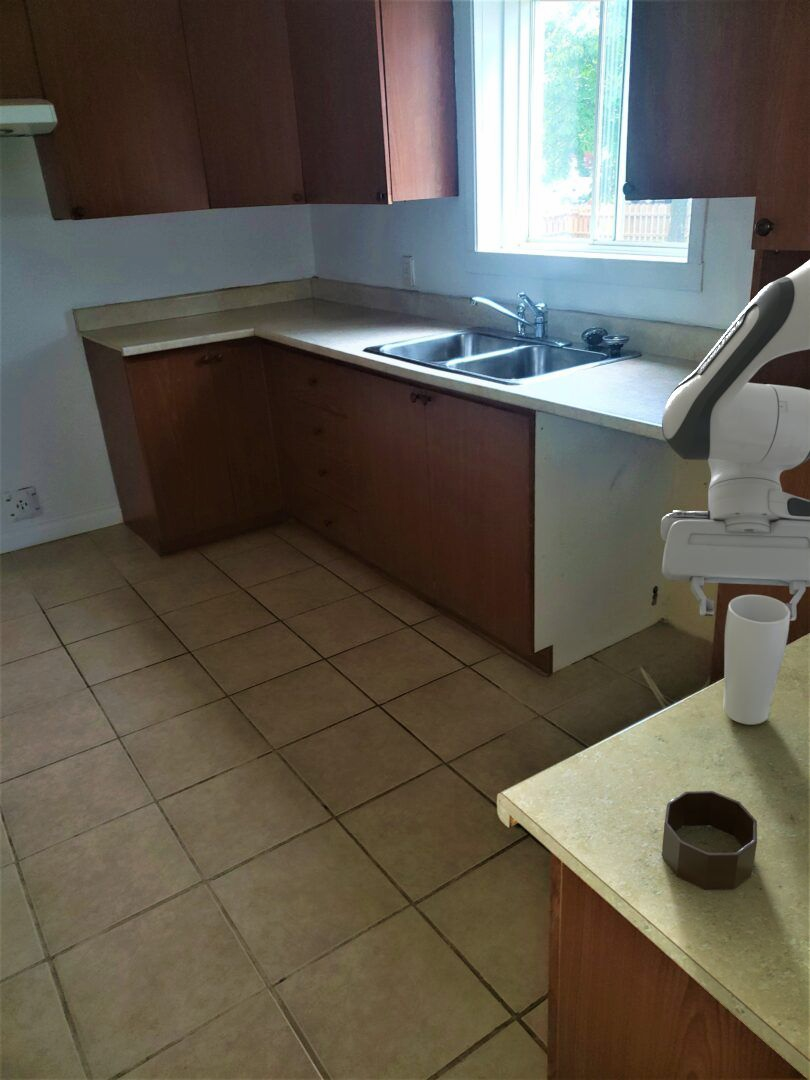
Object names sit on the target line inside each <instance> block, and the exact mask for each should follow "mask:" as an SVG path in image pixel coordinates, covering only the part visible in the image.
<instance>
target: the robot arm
mask: <svg viewBox="0 0 810 1080" xmlns="http://www.w3.org/2000/svg"><path fill="white" fill-rule="evenodd" d="M807 350H808V351H809V350H810V259H809V260H807V261H806V262H805V263H803V264H802V265H800V266H799V267H798V268H796V269H795V270H793V271H792V272H790V273H789V274H787V275H785V276H783V277H780V278H778V279H776V280H774V281H772V282H770V283H767V284H766V285H765V286H764V287H763V288H762V289H761V290H760V291H759V292H758V293H757V294H756V295H755V296H754V298H752V299H751V301H750V302H749V303H748V305H747V306H746V307H745V308H744V309H743V310H742V311H741V313H740V314H738V316H737V318H736V319H735V320H734V321H733V322H732V324H731V325H730V326H729V327H728V329H727V330H726V332H725V333H724V334H723V335H722V336H721V337H720V339H719V340H718V341H717V342H716V344H715V345H714V346H713V347H712V348H711V350H710V351H709V353H708V354H707V355H706V356H705V358H704V359H703V360H702V361H701V362H700V363H699V365H698V366H697V368H696V369H694V371H692V373H691V374H689V375H688V376H687V377H686V378H684V379H683V380H682V381H681V382H679V384H677V385H676V387H675V388H673V390H672V392H671V393H670V395H669V396H668V399H667V401H666V404H665V406H664V409H663V415H662V421H661V433H662V436H663V439H664V440H665V442H666V443H667V445H669V447H670V448H671V449H672V450H673V451H674V452H675V453H676V454H677V455H678V456H679V457H680V459H682V460H688V461H689V460H691V461H694V460H695V461H707V463H708V467H709V469H710V475H711V478H710V482H709V485H708V490H707V491H708V510H692V511H691V510H690V511H687V510H686V511H685V510H680V509H679V510H673V511H672V513H668V514H666V515H665V516H663V517H662V519H661V520H660V525H659V527H660V528H659V529H660V530H659V533H660V537H661V539H662V541H663V542H664V543H665V545H664V548H663V549H664V550H663V556H662V566H661V574H662V575H663V577H664V578H665V579H666V580H667V581H671V582H690V591H691V593H692V594H693V596H694V597H695V599H696V600H697V602H698V603H699V615H700V616H701V617H713V616H714V614H715V607H714V605H715V600H714V599H708V598H707V596H706V594H705V593H704V591H703V588H704V586H705V583H712V584H714V583H715V584H738V585H759V586H780V587H788V589H789V590H788V591H789V594H790V595H793V597H792V598H791V600H790V601H789V602H783V603H784V604H785V605H786V606H787V607H788V608H789V610H790V621H796V620H797V614H798V613H797V611H798V610H797V605H798V603H799V602H800V601H801V599H802V597H803V596H804V594H805V592H806V590H807V589H806V588H810V499H807V498H803V497H800V496H797V495H794V494H791V493H788V492H785V491H783V487H782V484H781V480H780V479H781V478H780V476H781V474H782V473H783V472H784V471H791V470H794V469H796V468H797V467H799V466H801V465H802V464H804V463H806V462H807V461H808V460H810V389H806V388H802V387H799V386H790V385H781V384H770V383H767V384H764V383H756V382H749V381H750V380H751V379H752V378H753V377H754V375H756V373H758V371H759V370H760V369H761V368H762V367H763V366H764V365H765V364H767V363H768V362H771V361H772V360H774V359H777V358H778V357H782V356H784V355H788V354H792V353H796V352H801V351H807Z"/></svg>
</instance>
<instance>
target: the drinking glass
mask: <svg viewBox="0 0 810 1080" xmlns="http://www.w3.org/2000/svg"><path fill="white" fill-rule="evenodd" d="M784 603H785V602H783V601H781V600H779V599H778V598H774V597H771V596H769V595H761V594H742V595H738V596H736V597H734V598H732V599H731V600H730V601H729V602H728V605H727V610H726V612H727V613H726V617H725V625H724V639H723V641H724V643H723V646H724V647H723V649H724V651H723V653H724V655H723V657H724V659H723V660H724V664H723V665H724V666H723V667H724V668H723V699H722V709H723V712H724V713H725V715H726V716H727V717H728V718H729V719H731V720H733V721H735V722H736V723H738V724H742V725H747V724H748V726H750V725H752V726H753V725H754V726H755V725H759V724H762V723H764V722H765V721H767V720H768V719H769V717H770V713H771V709H772V708H771V707H772V702H773V697H774V694H775V690H776V686H777V683H778V678H779V674H780V670H781V667H782V663H783V659H784V656H785V652H786V649H787V643H788V638H789V631H790V624H791V623H790V622H791V620H790V610H789V608H788V607H787V606H786V605H785V604H784Z"/></svg>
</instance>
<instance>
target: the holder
mask: <svg viewBox="0 0 810 1080" xmlns="http://www.w3.org/2000/svg"><path fill="white" fill-rule="evenodd" d="M683 827H710V828H713V829H715V830H717V831H720V832H722V833H724V834H726V835H729V836H732V837H733V838H734V839H735V840H736V842H737V843H738V844H739V845H740V846H741V847H742V848H741V849H739V850H737V852H707V851H705V850H702V849H700V848H699V847H696V846H694V845H692V844H690V843H688V842H684V841H683V840H682V839H681V838H680V836H679V835H678V834H677V833H676V832H678V831H679V830H680V829H682V828H683ZM662 834H663V835H662V848H661V857H662V858H663V860H664V862H666V864H667V866H668V867H669V868H670V870H671V871H672V873H674V875H675V876H676V877H677V878H678V879H681V880H683V881H685V882H687V883H690V884H691V885H694V886H696V887H698V888H700V889H702V890H703V891H713V890H714V891H715V890H716V891H717V890H721V891H722V890H735V889H736V888H737V887H739V886H740V885H742V884H743V883H744V882H746V881H747V880H748V879H749V878H751V877H752V876H753V872H754V864H755V857H756V851H757V844H758V820H757V819H756V818H755V817H754V816H753V814H751V813H750V812H749V810H747V808H746V807H745V806H744V805H743V804H742V803H741V801H738V800H736V799H734V798H731V797H728V796H726V795H723V794H721V793H718V792H716V791H713V790H699V791H698V790H697V791H695V790H692V791H691V790H690V791H684V792H682V793H681V794H679V795H677V796H676V797H674V798H673V799H671V800H670V801H668V802H666V808H665V815H664V822H663V833H662Z"/></svg>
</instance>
